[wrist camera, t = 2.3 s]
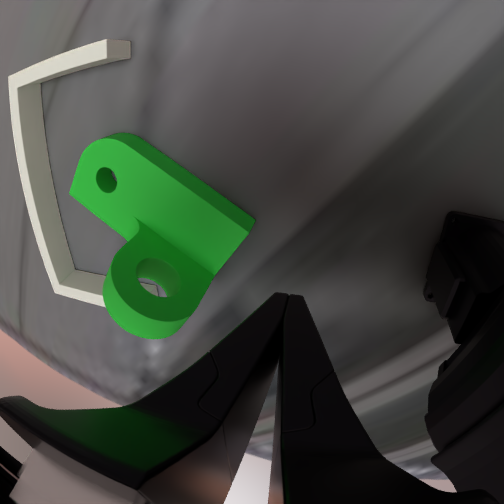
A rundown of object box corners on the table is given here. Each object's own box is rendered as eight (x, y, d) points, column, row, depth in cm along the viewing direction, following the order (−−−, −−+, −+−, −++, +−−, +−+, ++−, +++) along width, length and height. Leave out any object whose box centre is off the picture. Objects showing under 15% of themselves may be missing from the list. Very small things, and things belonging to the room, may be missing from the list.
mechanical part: (256, 218, 20) (216, 297, 13) (210, 276, 23) (164, 357, 16) (112, 116, 18) (21, 146, 11) (85, 184, 21) (10, 231, 15)
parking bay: (130, 40, 15) (106, 39, 13) (158, 297, 25) (144, 316, 23) (31, 72, 17) (8, 76, 15) (70, 278, 27) (55, 292, 25)
